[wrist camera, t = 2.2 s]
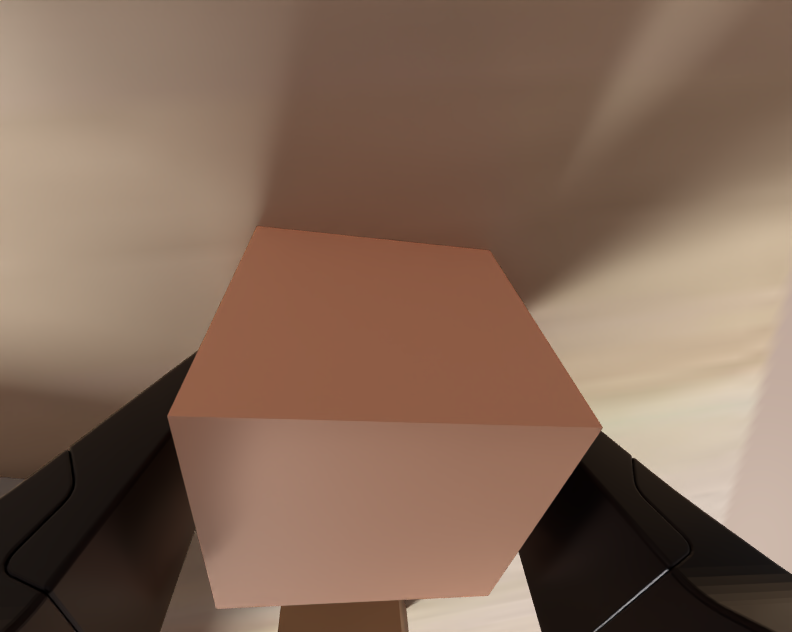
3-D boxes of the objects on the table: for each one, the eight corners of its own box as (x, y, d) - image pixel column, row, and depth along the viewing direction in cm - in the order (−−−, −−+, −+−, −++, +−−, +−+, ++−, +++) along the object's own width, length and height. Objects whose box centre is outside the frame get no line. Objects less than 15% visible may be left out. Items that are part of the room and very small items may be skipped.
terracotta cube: (440, 401, 12) (488, 595, 8) (265, 395, 11) (216, 609, 7) (488, 249, 9) (603, 428, 5) (257, 224, 8) (167, 415, 4)
